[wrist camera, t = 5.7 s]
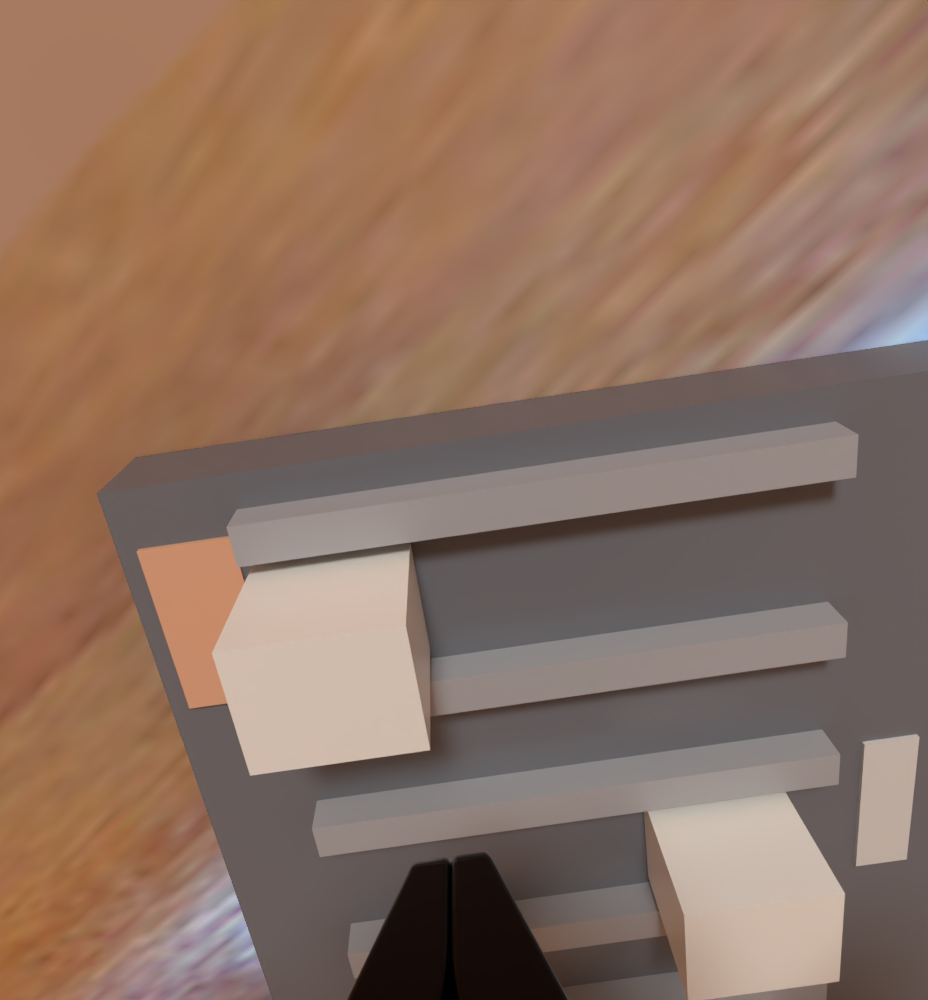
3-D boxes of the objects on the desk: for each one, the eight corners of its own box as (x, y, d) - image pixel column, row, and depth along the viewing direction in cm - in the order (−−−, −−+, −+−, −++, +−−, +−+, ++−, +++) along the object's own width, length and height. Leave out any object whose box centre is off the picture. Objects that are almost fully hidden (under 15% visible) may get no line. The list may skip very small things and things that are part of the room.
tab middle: (776, 858, 18) (839, 981, 15) (648, 876, 18) (688, 1002, 15) (777, 778, 17) (845, 893, 14) (643, 797, 17) (684, 915, 14)
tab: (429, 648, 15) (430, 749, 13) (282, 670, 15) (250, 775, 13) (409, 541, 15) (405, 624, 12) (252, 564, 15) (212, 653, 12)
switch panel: (925, 993, 23) (987, 1095, 21) (333, 1074, 23) (321, 1184, 21) (1010, 328, 16) (1126, 356, 13) (135, 457, 16) (78, 510, 13)
